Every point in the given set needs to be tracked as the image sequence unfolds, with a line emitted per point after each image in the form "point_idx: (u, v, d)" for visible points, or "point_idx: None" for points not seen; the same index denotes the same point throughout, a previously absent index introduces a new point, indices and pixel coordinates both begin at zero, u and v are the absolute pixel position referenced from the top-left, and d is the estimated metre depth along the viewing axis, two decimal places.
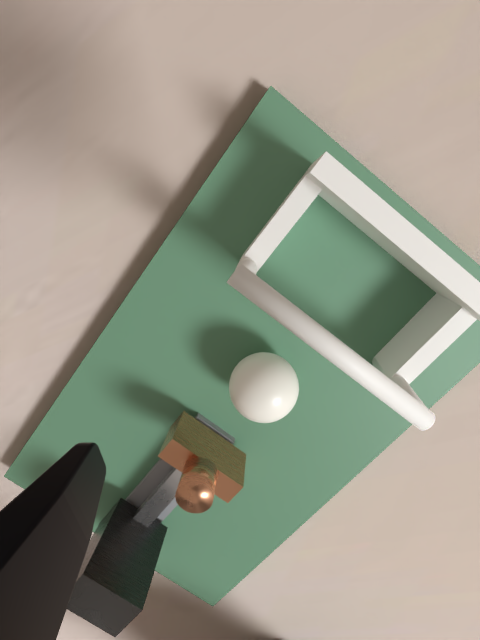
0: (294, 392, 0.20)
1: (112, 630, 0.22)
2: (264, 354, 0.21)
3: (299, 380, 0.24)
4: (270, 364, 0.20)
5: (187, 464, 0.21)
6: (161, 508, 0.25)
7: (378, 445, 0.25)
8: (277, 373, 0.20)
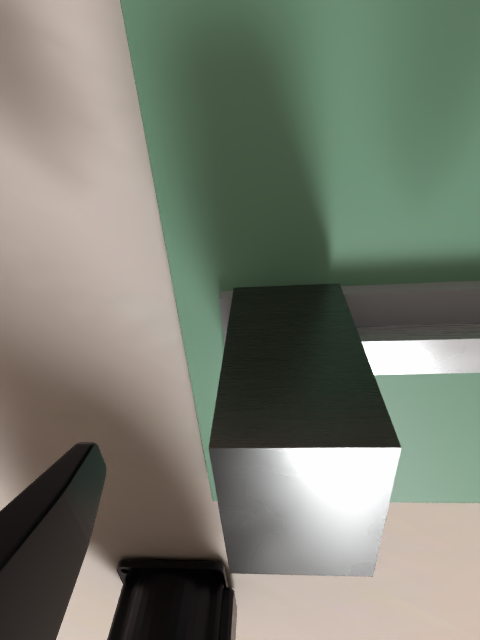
0: None
1: (244, 564, 0.08)
2: None
3: None
4: None
5: None
6: (409, 369, 0.11)
7: None
8: None
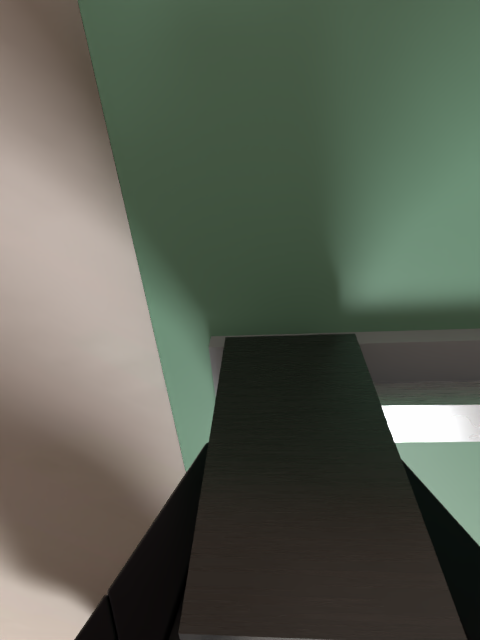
0: None
1: None
2: None
3: None
4: None
5: None
6: (439, 436, 0.09)
7: None
8: None
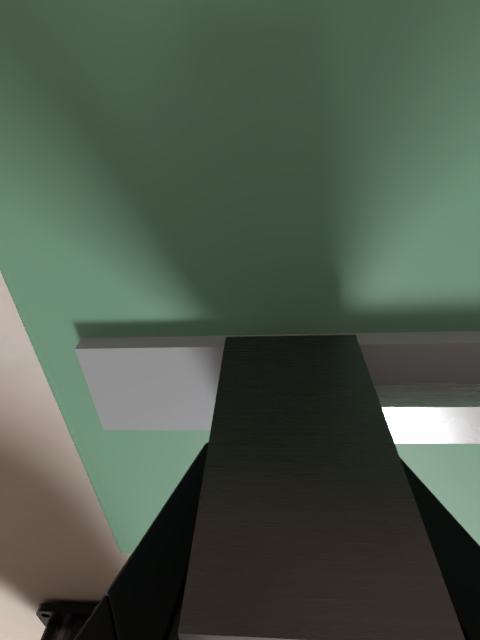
0: None
1: None
2: None
3: None
4: None
5: None
6: (438, 438, 0.09)
7: None
8: None
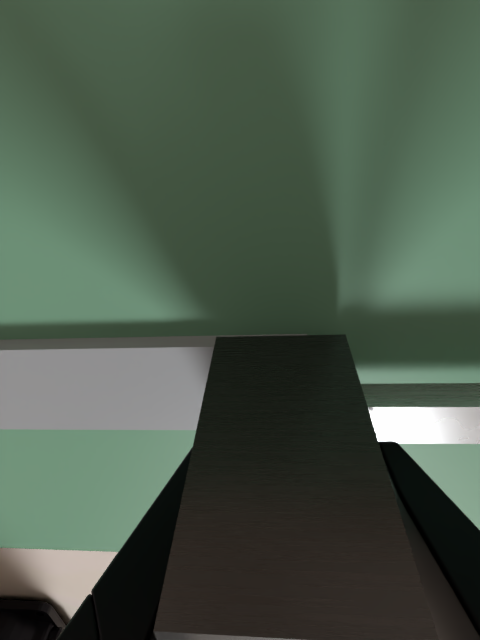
0: None
1: None
2: None
3: None
4: None
5: None
6: (429, 438, 0.09)
7: None
8: None
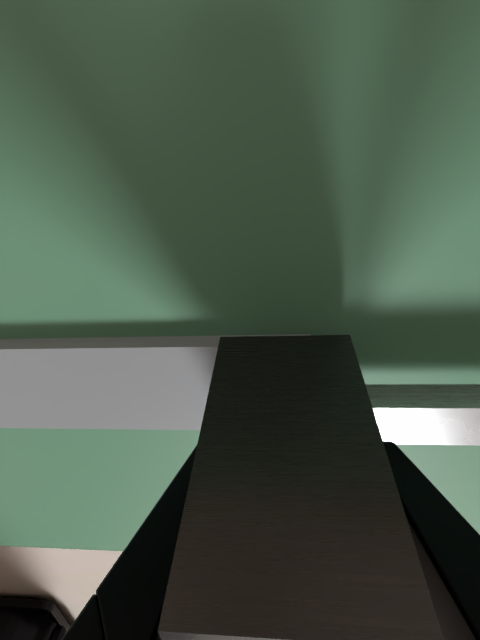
0: None
1: None
2: None
3: None
4: None
5: None
6: (434, 439, 0.09)
7: None
8: None
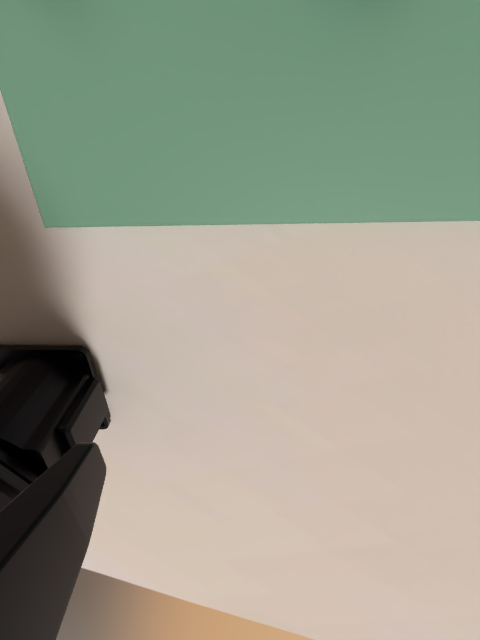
0: None
1: None
2: None
3: None
4: None
5: None
6: None
7: None
8: None
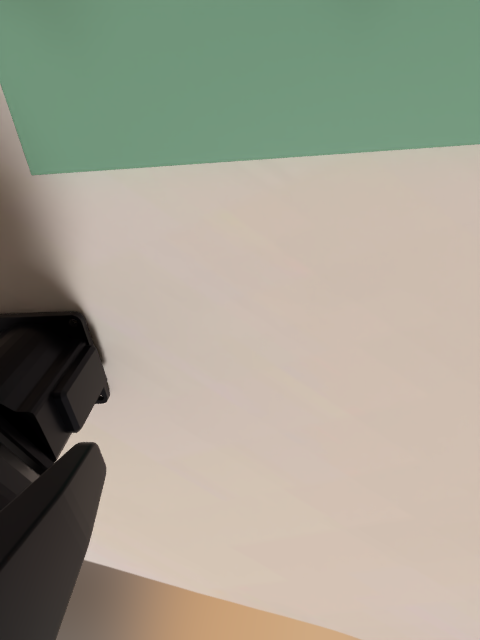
0: None
1: None
2: None
3: None
4: None
5: None
6: None
7: None
8: None
